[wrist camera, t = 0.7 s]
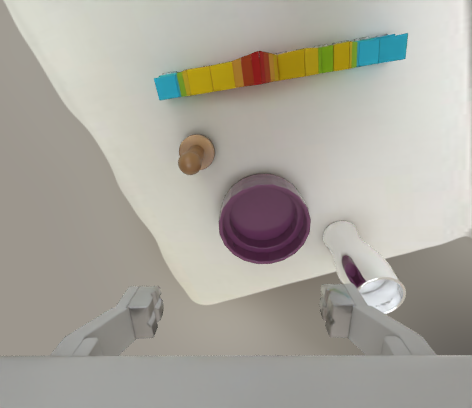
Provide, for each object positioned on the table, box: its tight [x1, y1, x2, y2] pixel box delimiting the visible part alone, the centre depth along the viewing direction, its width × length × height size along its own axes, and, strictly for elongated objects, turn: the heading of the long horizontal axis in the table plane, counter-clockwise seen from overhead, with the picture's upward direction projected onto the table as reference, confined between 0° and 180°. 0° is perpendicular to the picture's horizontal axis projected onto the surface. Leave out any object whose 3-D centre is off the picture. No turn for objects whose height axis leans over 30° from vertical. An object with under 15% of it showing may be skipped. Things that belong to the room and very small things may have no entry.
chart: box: [154, 33, 408, 100], centre depth 29 cm, size 30×3×15 cm, turn 99°
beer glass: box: [323, 221, 406, 314], centre depth 40 cm, size 7×7×15 cm
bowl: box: [219, 174, 311, 264], centre depth 42 cm, size 14×14×6 cm
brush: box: [178, 134, 215, 175], centre depth 36 cm, size 5×5×9 cm
